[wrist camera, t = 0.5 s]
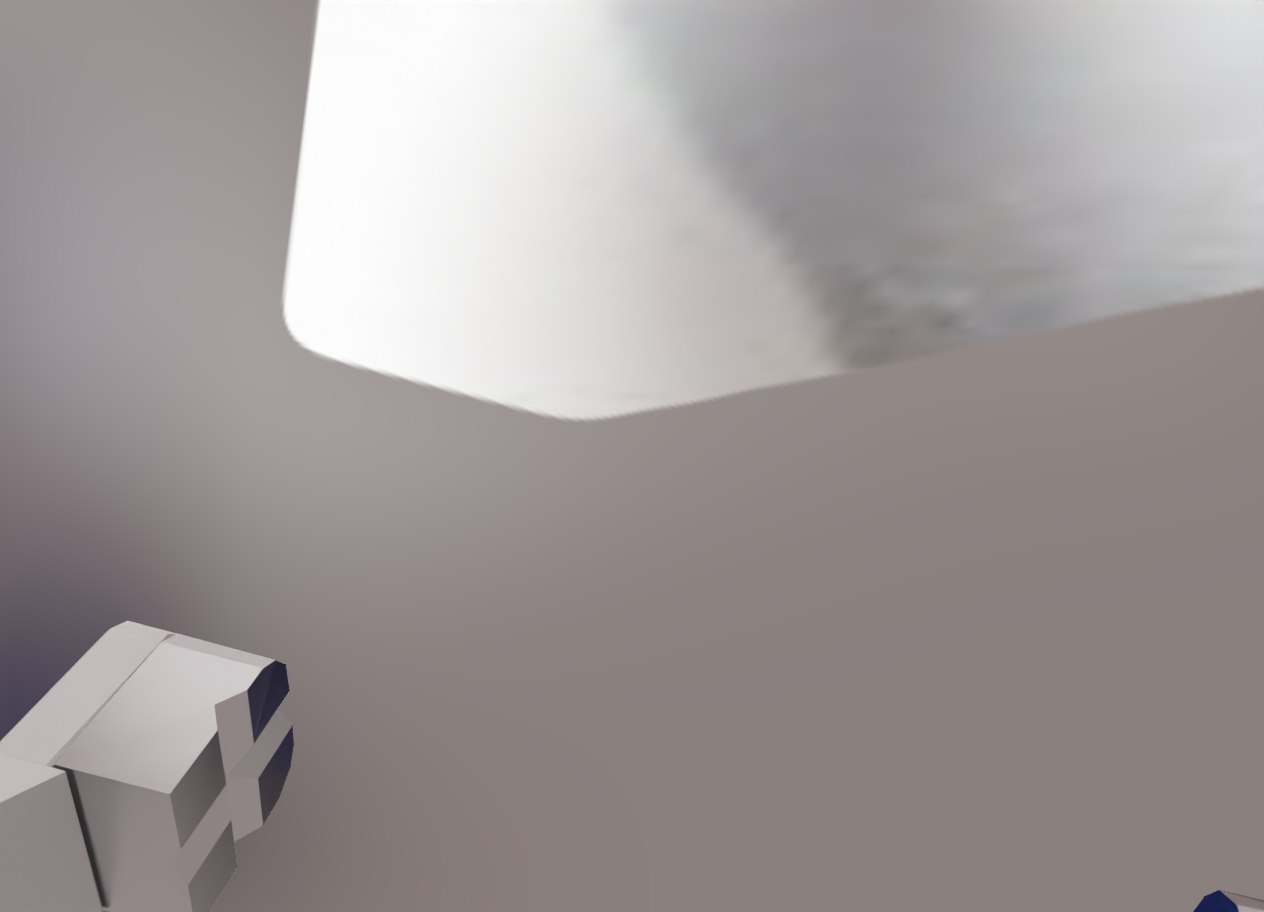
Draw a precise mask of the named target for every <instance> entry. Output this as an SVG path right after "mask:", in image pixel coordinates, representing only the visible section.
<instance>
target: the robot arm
mask: <svg viewBox="0 0 1264 912" xmlns="http://www.w3.org/2000/svg"><path fill="white" fill-rule="evenodd" d="M289 691H290V690H289V683H288V676H287V669H286V664H283V663H281V662H278V661H276V660H273V659H269V658H266V657H262V656H258V655H254V654H251V653H247V652H244V651H240V650H236V649H233V648H229V647H225V646H221V645H218V644H214V643H211V642H207V641H203V640H200V639H196V638H192V637H189V636H185V635H182V634H176V633H172V632H168V631H164V630H161V629H157V628H153V627H150V626H146V625H142V624H138V623H134V622H130V621H126V622H124V623H122V624H119V625H117V626H115V627H113V628H111V629H109V630H108V631H107V632H106V633H105V634H104V635H103V636H102V637H101V638H100V639H99V640H98V641H97V642H96V643H95V644H94V645H93V646H92V647H91V648H90V649H89V650H88V651H87V652H86V653H85V654H84V656H82V657H81V658H80V660H79V661H78V662H77V663H76V664H75V665H74V666H73V667H72V668H71V669H70V670H69V671H68V672H67V673H66V674H65V675H64V676H63V677H62V678H61V679H60V680H59V681H58V682H57V683H56V684H55V685H54V686H53V687H52V688H51V690H49V691H48V693H47V694H46V695H45V696H44V697H43V698H42V699H41V700H40V701H39V702H38V703H37V704H36V705H35V706H34V707H33V708H32V709H31V710H30V711H29V712H28V713H27V714H26V715H25V716H24V717H23V718H22V720H20V722H19V723H17V725H16V726H15V727H14V728H13V729H12V730H11V731H10V732H9V733H8V734H7V735H6V736H5V737H4V738H3V739H2V740H1V741H0V912H103V910H106V911H110V912H210V910H211V908H212V907H213V905H214V904H215V902H216V900H217V899H218V897H219V896H220V894H221V892H222V891H223V889H224V888H225V886H226V884H227V883H228V881H229V880H230V878H231V876H232V875H233V873H234V872H235V870H236V868H237V861H236V853H235V845H234V842H235V841H236V840H238V839H240V838H242V837H243V836H245V835H247V834H249V833H251V832H252V831H254V830H256V829H257V828H259V827H261V826H263V825H264V823H265V821H266V820H267V818H268V816H269V815H270V813H271V811H272V809H273V808H274V806H275V805H276V803H277V801H278V799H279V797H280V795H281V792H282V789H283V787H284V784H285V781H286V778H287V776H288V773H289V770H290V767H291V761H292V754H293V746H294V739H293V725H292V724H291V723H290V721H289V720H288V719H287V718H286V716H285V715H284V714H283V713H282V711H281V710H280V709H279V708H278V707H279V706H280V704H281V703H282V701H283V700H284V698H285V697H286V695H287V694H288V692H289ZM1194 912H1264V900H1261V899H1256V898H1252V897H1247V896H1243V895H1239V894H1235V893H1230V892H1226V891H1222V890H1218V891H1216V892H1213V893H1211V894H1209V895H1206V896H1204V898H1203V899H1202V900H1201V902H1200V903H1199V905H1198V906H1197V908H1196V909H1195V910H1194Z"/></svg>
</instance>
